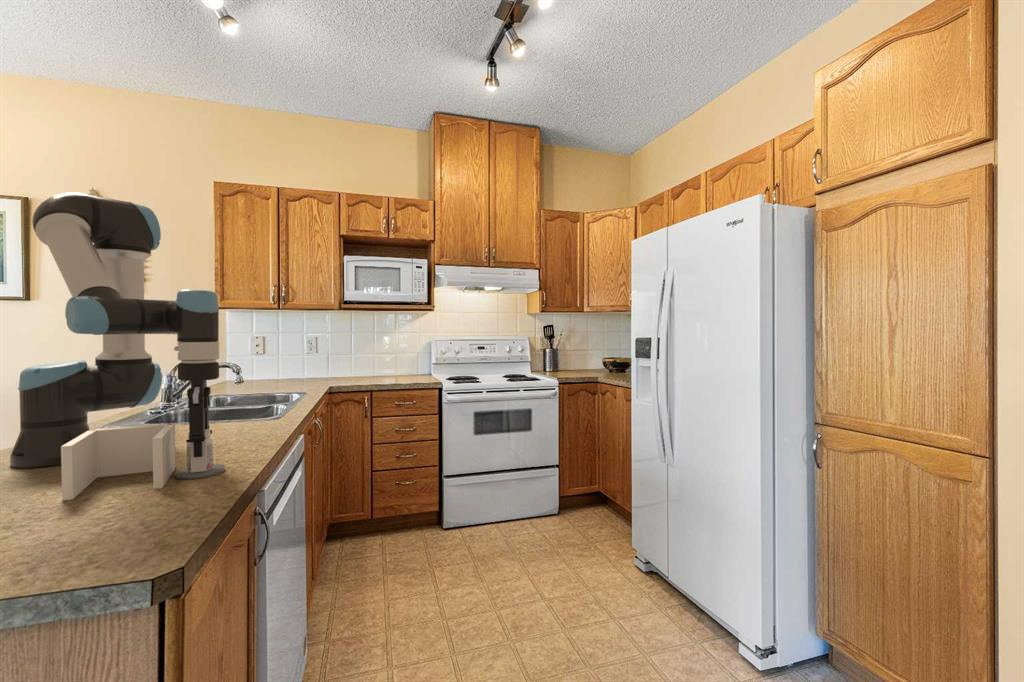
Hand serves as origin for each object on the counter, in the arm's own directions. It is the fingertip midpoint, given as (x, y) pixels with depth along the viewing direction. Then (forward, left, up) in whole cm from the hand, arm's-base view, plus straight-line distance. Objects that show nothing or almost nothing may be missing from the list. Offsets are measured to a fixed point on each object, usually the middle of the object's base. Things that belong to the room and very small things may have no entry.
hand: (200, 467), depth 103 cm
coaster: (0, 0, -1) cm, 1 cm away
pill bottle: (0, 0, -1) cm, 1 cm away
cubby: (0, -13, -1) cm, 13 cm away
